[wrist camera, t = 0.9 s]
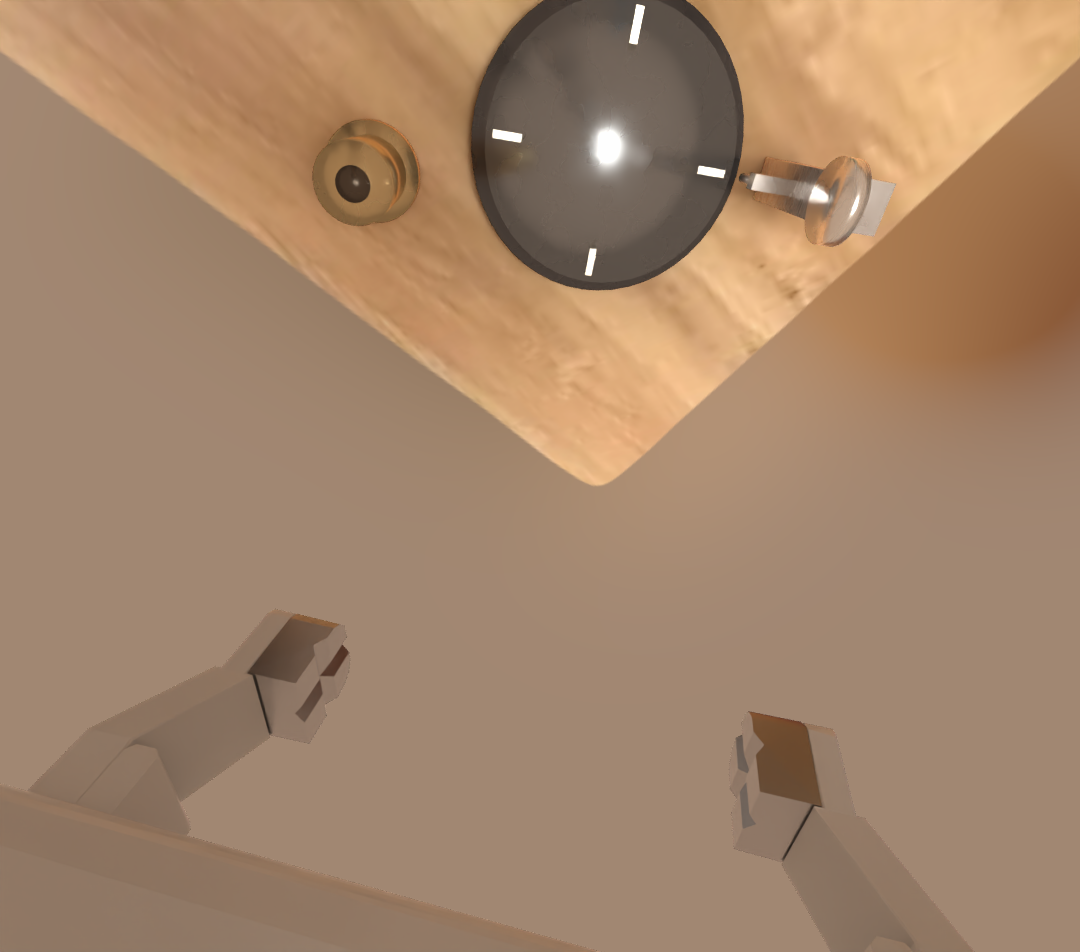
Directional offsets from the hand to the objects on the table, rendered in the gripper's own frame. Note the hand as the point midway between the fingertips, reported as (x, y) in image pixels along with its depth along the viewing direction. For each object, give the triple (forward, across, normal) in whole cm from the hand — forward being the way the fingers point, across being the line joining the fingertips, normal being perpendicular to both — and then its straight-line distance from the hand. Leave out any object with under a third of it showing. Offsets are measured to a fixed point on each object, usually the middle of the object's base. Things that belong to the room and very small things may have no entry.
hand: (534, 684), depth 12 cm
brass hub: (+39, +21, -5) cm, 45 cm away
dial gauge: (+47, -7, -6) cm, 48 cm away
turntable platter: (+42, +4, -7) cm, 43 cm away
